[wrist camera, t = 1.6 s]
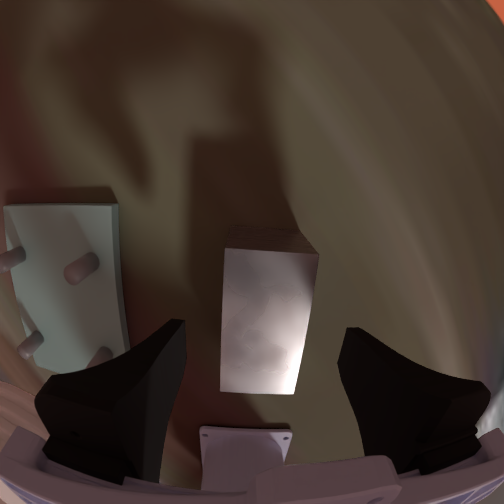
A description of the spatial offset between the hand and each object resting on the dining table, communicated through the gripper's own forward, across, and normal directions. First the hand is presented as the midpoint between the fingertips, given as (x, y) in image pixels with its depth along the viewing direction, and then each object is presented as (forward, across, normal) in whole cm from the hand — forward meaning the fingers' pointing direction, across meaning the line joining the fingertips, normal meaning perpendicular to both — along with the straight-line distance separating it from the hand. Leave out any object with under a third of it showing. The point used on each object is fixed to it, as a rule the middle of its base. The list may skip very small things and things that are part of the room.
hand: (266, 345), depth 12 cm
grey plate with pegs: (+6, +14, +2) cm, 15 cm away
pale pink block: (+6, 0, 0) cm, 6 cm away
